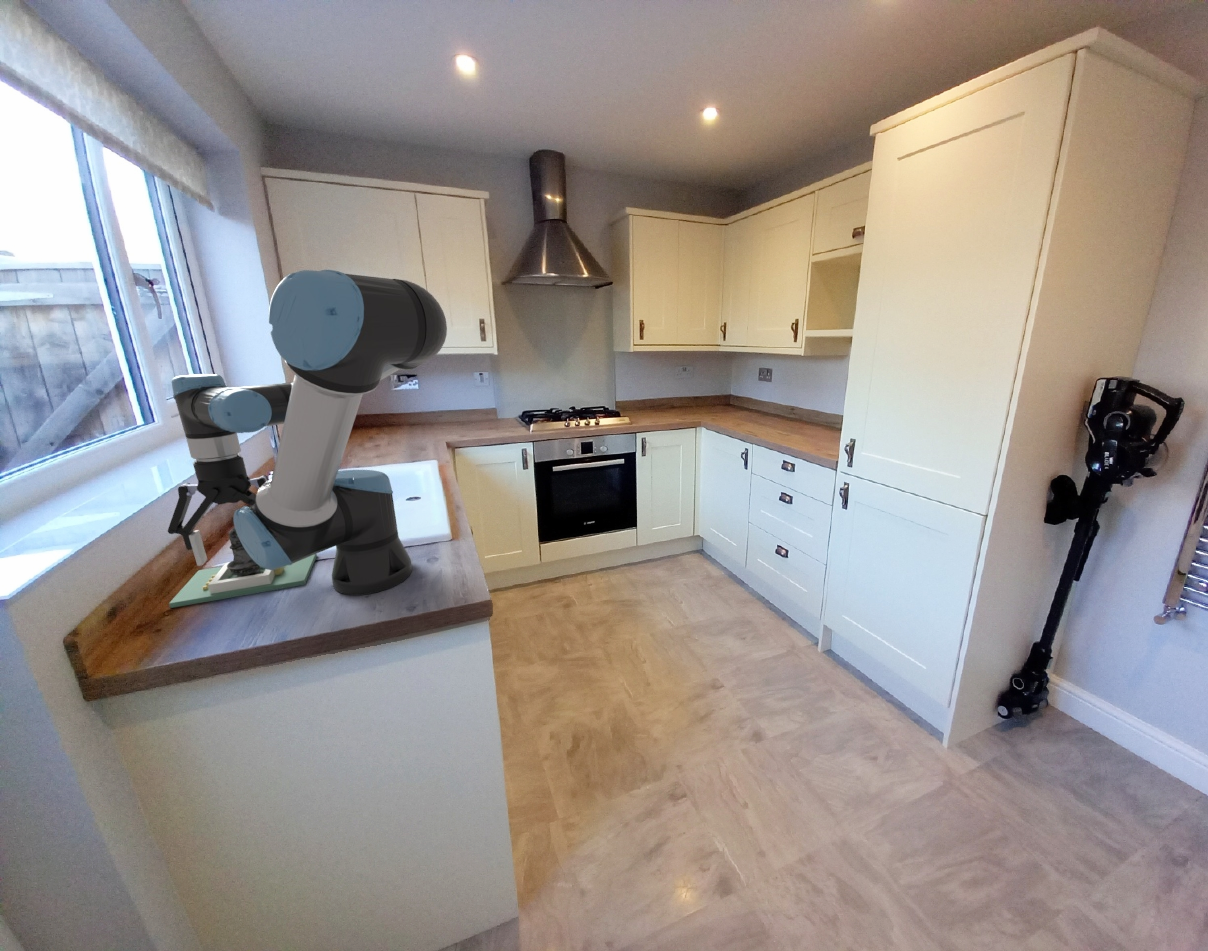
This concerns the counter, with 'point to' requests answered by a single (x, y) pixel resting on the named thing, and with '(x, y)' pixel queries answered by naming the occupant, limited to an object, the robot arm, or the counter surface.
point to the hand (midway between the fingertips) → (243, 556)
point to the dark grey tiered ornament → (241, 558)
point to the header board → (240, 582)
